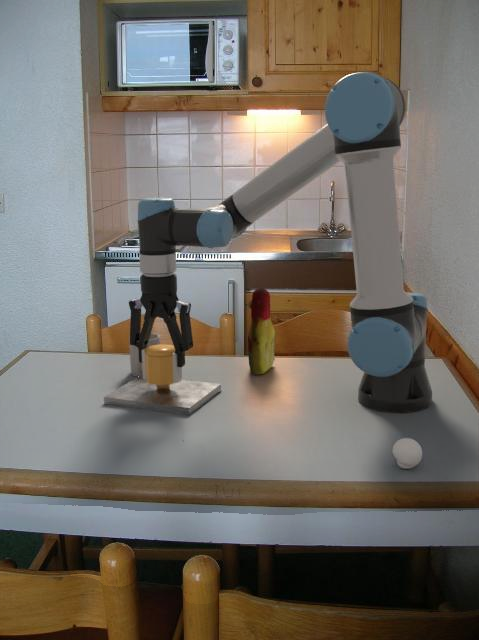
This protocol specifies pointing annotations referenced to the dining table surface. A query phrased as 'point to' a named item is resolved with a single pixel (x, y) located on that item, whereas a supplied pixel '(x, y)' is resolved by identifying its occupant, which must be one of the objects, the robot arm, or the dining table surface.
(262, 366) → the bottle
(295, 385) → the dining table surface
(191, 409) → the plate
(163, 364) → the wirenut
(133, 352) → the cup
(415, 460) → the mushroom
